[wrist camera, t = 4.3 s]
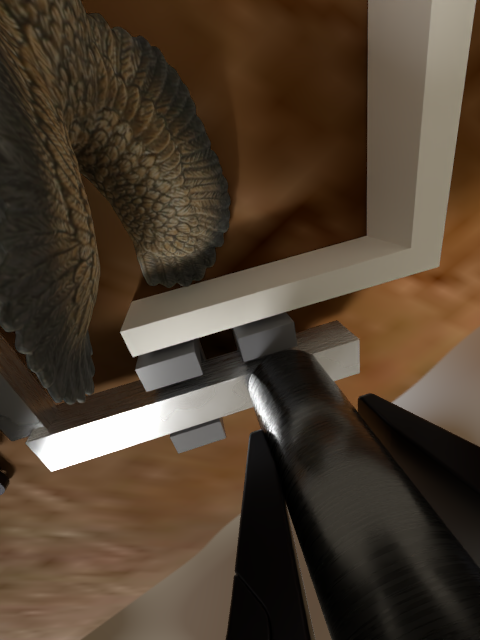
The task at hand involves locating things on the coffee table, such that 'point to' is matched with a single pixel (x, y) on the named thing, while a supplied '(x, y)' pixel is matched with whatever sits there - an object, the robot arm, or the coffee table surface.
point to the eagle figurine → (92, 177)
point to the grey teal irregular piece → (290, 477)
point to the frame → (382, 186)
